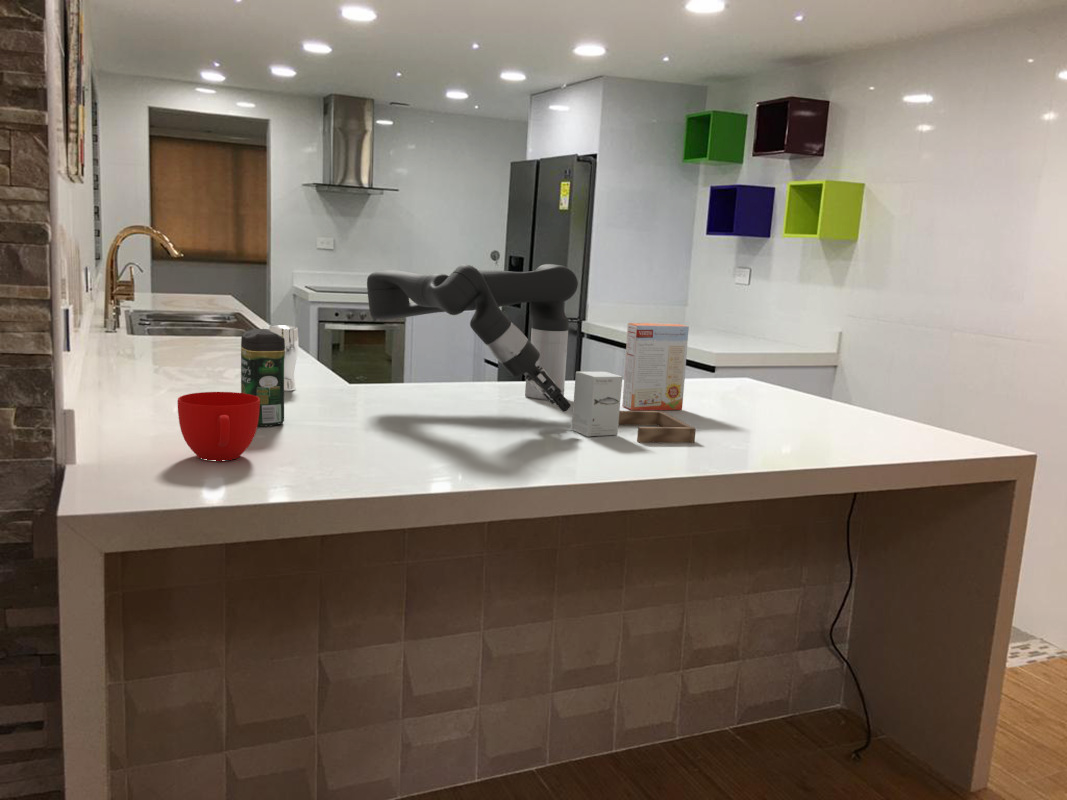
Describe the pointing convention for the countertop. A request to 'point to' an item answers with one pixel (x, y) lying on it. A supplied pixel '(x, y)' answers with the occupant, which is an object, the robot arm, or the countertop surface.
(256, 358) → the coffee jar
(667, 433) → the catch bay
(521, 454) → the countertop surface
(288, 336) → the beer glass
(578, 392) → the supplement box
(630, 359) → the cracker box
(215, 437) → the ceramic cup
